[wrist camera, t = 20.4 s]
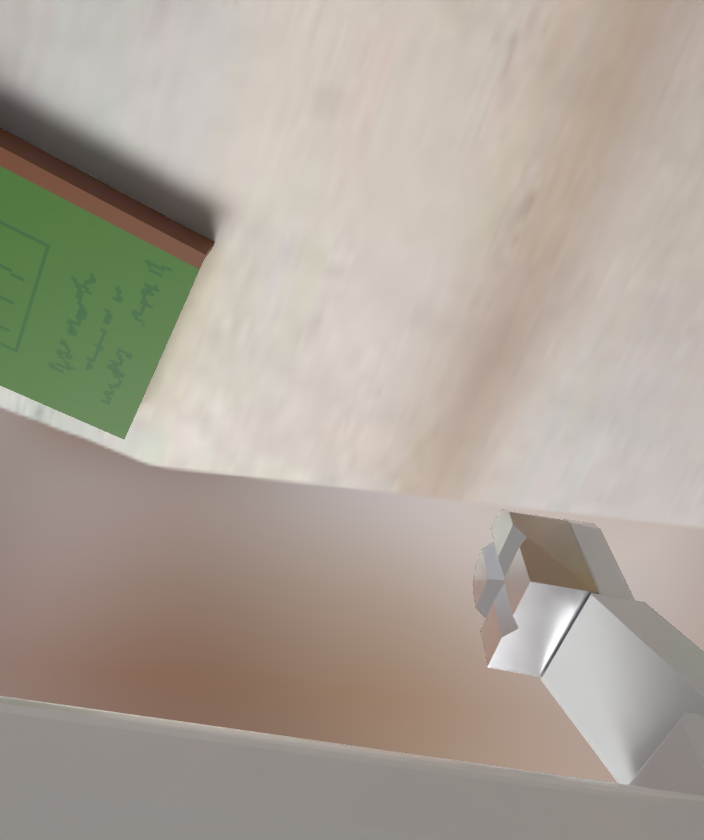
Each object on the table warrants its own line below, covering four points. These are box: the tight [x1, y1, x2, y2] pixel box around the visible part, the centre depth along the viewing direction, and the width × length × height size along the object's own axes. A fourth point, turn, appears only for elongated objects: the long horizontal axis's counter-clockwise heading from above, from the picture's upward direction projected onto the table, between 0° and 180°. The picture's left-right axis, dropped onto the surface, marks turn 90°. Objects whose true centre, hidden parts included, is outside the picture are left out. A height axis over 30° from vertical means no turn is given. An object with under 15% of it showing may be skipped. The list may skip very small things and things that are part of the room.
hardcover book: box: [0, 128, 214, 439], centre depth 49 cm, size 25×19×4 cm
